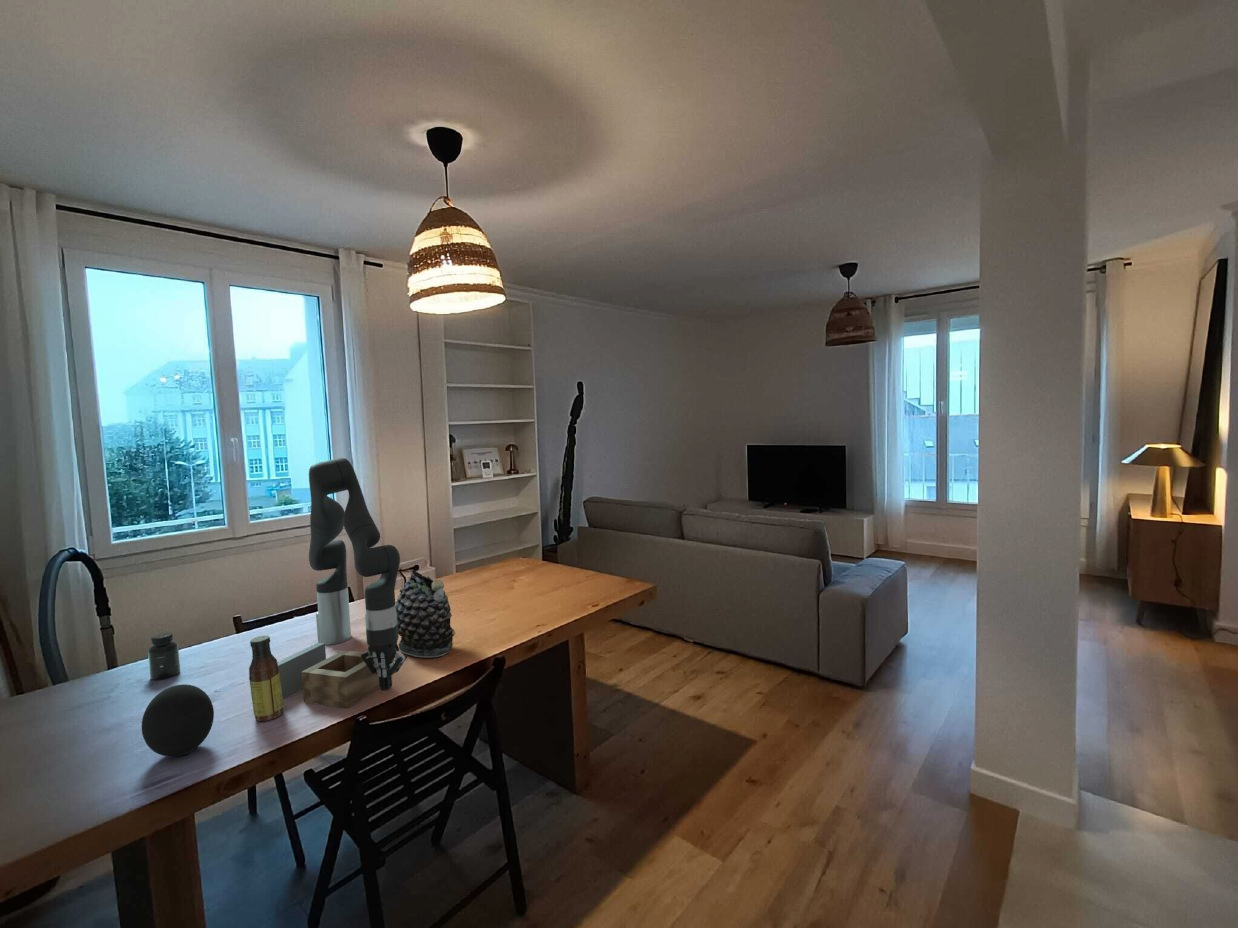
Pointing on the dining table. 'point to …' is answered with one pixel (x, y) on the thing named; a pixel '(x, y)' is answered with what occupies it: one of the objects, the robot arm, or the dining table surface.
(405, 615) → the scaly dragon egg
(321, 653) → the backstop
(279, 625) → the dining table surface
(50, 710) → the dining table surface
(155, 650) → the supplement bottle
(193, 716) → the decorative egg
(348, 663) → the open wooden box
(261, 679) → the sauce bottle
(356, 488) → the robot arm
